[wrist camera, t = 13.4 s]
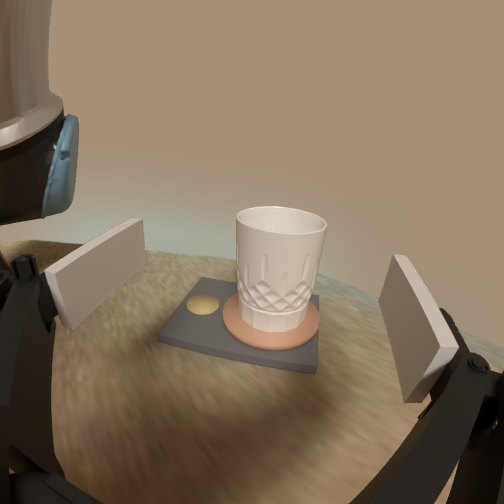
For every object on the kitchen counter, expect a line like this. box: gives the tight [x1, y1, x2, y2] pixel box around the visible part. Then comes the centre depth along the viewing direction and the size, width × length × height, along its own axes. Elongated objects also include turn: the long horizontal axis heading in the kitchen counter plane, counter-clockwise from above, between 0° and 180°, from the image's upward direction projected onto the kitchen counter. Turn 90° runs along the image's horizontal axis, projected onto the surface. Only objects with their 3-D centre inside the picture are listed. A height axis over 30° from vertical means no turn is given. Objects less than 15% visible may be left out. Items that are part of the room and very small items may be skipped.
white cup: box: [236, 206, 327, 333], centre depth 26 cm, size 8×8×10 cm
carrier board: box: [157, 277, 320, 374], centre depth 29 cm, size 15×12×2 cm
